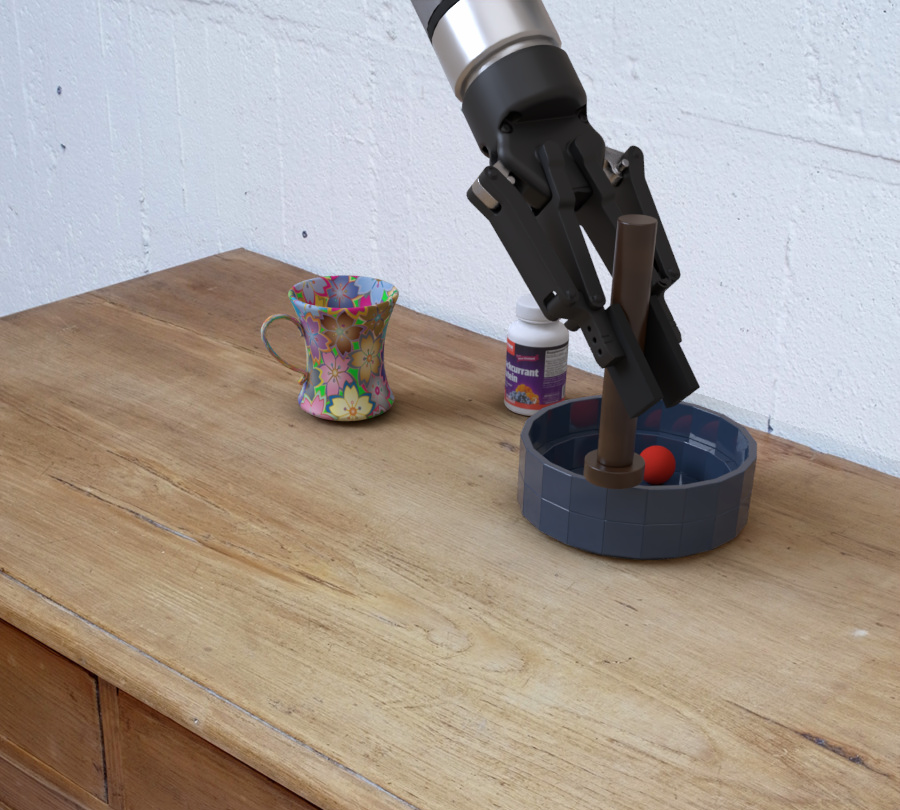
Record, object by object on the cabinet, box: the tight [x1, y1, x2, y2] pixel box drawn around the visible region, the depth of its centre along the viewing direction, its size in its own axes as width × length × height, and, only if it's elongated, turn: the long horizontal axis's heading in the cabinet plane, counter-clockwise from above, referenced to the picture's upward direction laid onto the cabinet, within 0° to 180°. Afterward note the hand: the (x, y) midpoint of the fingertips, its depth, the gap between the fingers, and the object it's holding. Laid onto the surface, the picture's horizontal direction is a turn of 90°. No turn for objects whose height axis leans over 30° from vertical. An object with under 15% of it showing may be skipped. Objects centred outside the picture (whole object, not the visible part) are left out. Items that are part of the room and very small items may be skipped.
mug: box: [260, 274, 400, 422], centre depth 113 cm, size 12×9×11 cm
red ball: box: [640, 446, 676, 484], centre depth 102 cm, size 3×3×3 cm
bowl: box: [516, 394, 758, 561], centre depth 98 cm, size 17×17×6 cm
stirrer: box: [583, 214, 658, 489], centre depth 83 cm, size 4×4×17 cm
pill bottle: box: [503, 293, 570, 417], centre depth 115 cm, size 5×5×10 cm
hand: (664, 402), depth 81 cm, fingers closed on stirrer, 2 cm apart
